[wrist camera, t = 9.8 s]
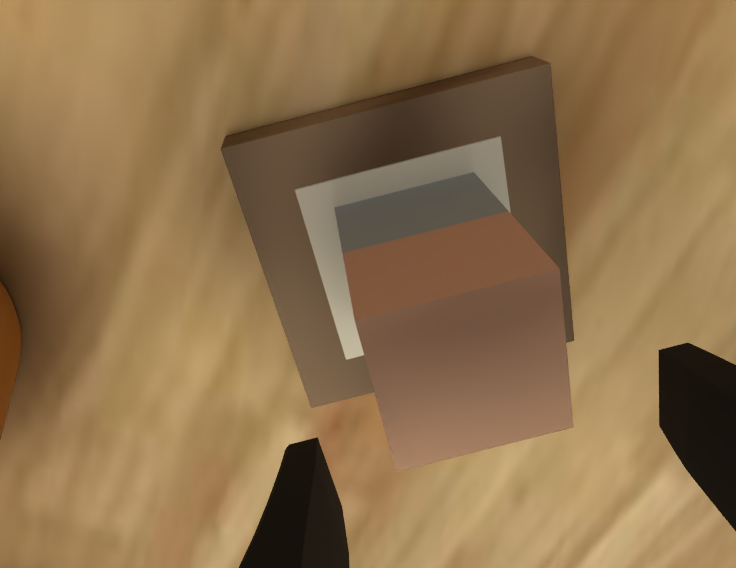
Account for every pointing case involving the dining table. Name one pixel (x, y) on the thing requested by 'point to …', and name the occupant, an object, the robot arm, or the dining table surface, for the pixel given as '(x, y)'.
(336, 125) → the walnut board
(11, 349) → the flower pot
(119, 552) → the dining table surface
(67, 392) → the dining table surface
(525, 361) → the block stack
